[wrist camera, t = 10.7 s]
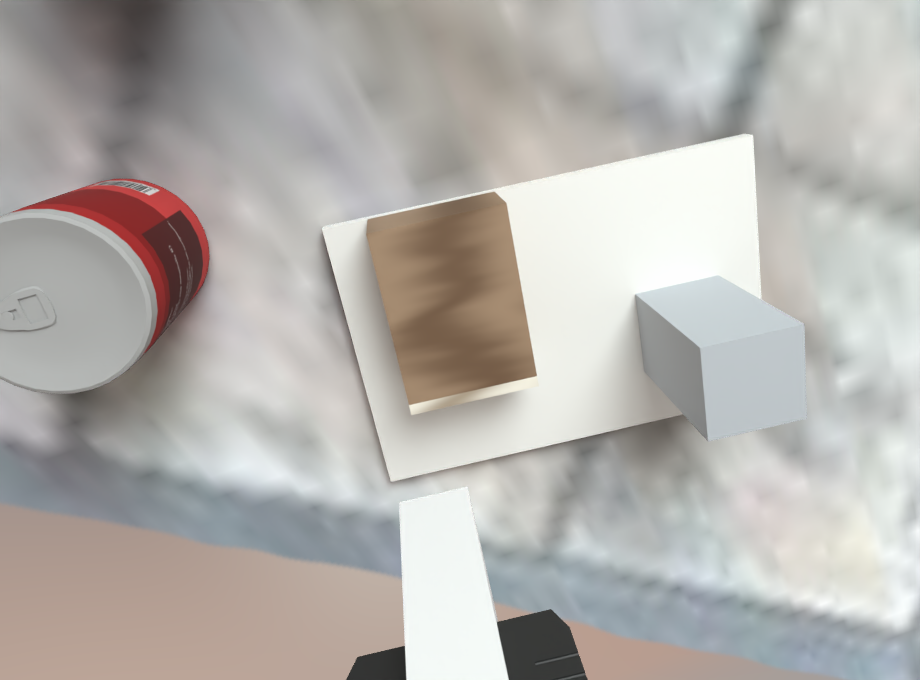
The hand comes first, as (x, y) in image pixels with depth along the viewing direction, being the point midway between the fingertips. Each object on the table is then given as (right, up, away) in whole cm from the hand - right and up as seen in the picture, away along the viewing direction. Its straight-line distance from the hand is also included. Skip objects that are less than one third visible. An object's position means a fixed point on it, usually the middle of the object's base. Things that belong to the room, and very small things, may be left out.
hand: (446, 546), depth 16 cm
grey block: (+13, +5, +27) cm, 30 cm away
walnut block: (+1, +2, +24) cm, 25 cm away
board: (+6, +6, +27) cm, 28 cm away
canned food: (-17, +10, +23) cm, 30 cm away
